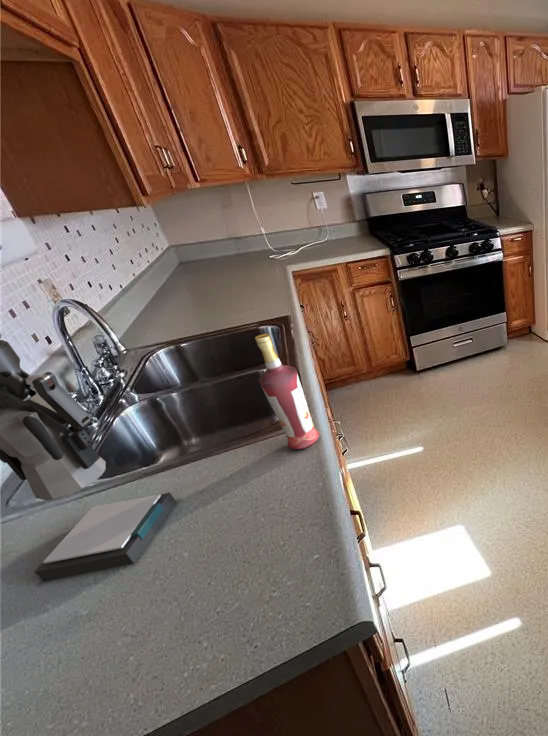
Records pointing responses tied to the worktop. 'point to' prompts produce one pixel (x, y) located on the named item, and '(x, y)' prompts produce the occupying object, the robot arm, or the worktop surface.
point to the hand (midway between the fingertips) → (61, 468)
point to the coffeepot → (44, 455)
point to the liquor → (286, 397)
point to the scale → (107, 537)
